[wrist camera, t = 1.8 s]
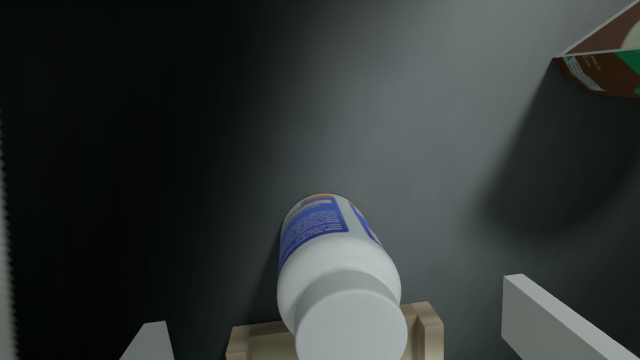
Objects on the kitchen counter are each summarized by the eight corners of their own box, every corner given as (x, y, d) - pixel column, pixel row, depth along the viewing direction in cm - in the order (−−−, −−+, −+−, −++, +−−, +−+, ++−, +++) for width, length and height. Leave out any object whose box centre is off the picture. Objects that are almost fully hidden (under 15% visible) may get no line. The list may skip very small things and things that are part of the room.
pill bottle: (270, 257, 21) (250, 390, 11) (296, 179, 19) (299, 253, 10) (349, 279, 21) (392, 420, 12) (378, 205, 20) (452, 296, 11)
